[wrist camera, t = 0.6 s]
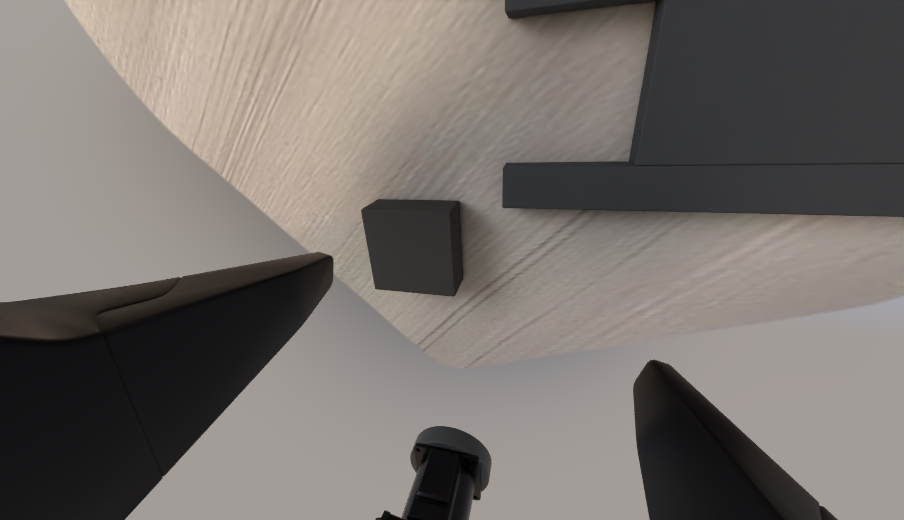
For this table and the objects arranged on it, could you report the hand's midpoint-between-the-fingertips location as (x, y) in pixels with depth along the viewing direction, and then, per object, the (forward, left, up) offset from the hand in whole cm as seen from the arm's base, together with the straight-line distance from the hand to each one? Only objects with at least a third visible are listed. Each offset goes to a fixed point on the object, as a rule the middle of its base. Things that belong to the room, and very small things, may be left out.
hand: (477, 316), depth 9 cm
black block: (-3, +7, -13) cm, 15 cm away
